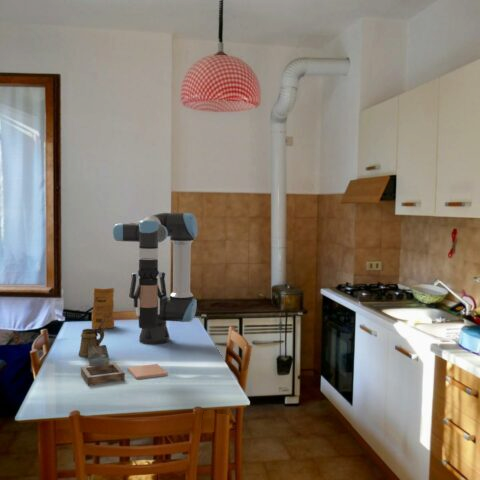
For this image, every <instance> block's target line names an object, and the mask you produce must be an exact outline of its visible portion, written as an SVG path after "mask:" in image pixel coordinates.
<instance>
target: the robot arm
mask: <svg viewBox="0 0 480 480" xmlns="http://www.w3.org/2000/svg"><path fill="white" fill-rule="evenodd" d="M198 226H199V225H198V220H197V218H196V216H195V215H194V214H193V213H187V212H181V213H180V212H162V213H156V214H153V215H148V216H146V217H145V218H144V219H140V220H138V221H133V222H129V223H116V224H115V225H114V226H113V228H112V231H113V232H112V234H113V238H114V240H115V241H117V242H133V243H134V242H135V243H138V242H139V243H138V244H139V248H138V251H139V252H138V253H139V254H138V258H140V259H139V260H138V271H137V272H131V274H130V276H131V283H130V289H129V295H128V297H129V298H131V299H132V300H133V307H134V308H135V315H136V317H139V316H140V300H139V295H140V289H141V285H140V286H139V284H138V285H137V279H138V276H139V278H141V279H152V280H153V281H155V280H156V278H158V277H159V283H160V286H159V285H158V303H157V326H156V328H153V329H142V328H141V331H140V334H139V338H138V339H139V340H138V341H139V342H140V343H141V344H146V345H159V344H160V345H161V344H166V343H168V342H170V333H169V330H168V327H167V322H180V323H190V322H192V321H193V320H194V318H195V315H196V312H197V305H198V303H197V301H198V300H197V299H196V298H194V294H193V293H192V292H191V258H192V257H191V255H192V254H191V251H192V250H191V248H192V247H191V245H192V243H193V242H194V241H195V238H197V236H198V231H199V228H198ZM167 237H169V238H170V239H169V241H170V242H171V243H172V245H173V246H172V247H173V249H172V250H173V251H172V252H173V254H172V255H173V256H172V258H173V259H172V270H173V271H172V292H171V293H170V294H169V297H168V296H167V288H166V287H167V286H166V282H165V277H166V273H165V272H164V271H159V268H158V267H159V264H158V263H159V260H158V257H159V243H161V242H164V241H165V240H166V239H167ZM136 285H137V288H136Z"/></svg>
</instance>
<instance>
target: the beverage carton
mask: <svg viewBox="0 0 480 480" xmlns="http://www.w3.org/2000/svg"><path fill="white" fill-rule="evenodd" d="M109 357H110V356H109V353H108V347H107V345H106V344H103V345H101V344H100V345H98V346H89V349H88V357H87V359H88V364H89V365H88V366H95V365H104V364H110V358H109Z"/></svg>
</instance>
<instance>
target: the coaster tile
mask: <svg viewBox="0 0 480 480" xmlns="http://www.w3.org/2000/svg"><path fill="white" fill-rule="evenodd" d="M126 369H127V372H129V373H130V375H132V377H134V379H135V380H142V379H149V378H157V377H163V376H168V375H169V374H168V371H166V370H165V369H164V368H163V367H161V365H159V364H158V363H155V364H146V365H145V364H144V365H139V366H138V365H137V366H130V367H129V366H128V367H127V368H126Z"/></svg>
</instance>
